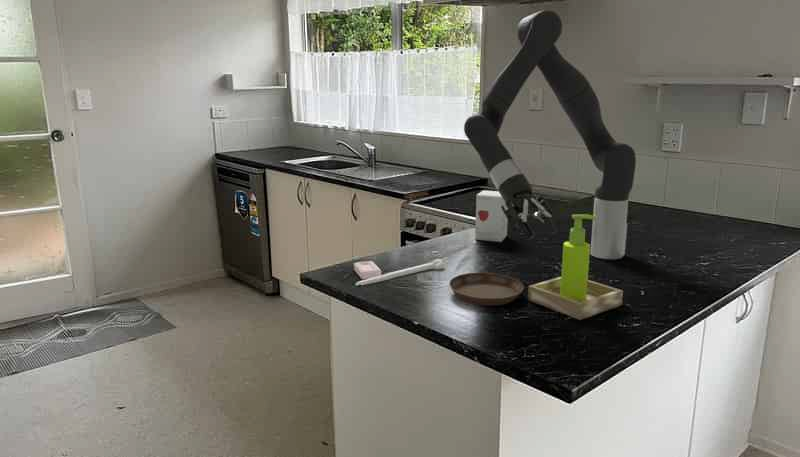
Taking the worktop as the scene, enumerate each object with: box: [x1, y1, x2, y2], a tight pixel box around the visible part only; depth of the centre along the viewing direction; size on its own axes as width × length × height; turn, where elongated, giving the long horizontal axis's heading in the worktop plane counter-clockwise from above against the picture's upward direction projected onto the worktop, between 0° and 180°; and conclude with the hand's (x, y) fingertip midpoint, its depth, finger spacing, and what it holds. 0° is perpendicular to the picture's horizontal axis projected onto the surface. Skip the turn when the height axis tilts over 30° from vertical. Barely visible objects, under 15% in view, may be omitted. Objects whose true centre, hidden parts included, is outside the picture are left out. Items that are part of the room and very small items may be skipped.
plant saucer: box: [448, 272, 524, 307], centre depth 144 cm, size 18×18×3 cm
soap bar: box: [353, 260, 382, 280], centre depth 161 cm, size 5×9×2 cm, turn 18°
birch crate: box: [527, 276, 624, 321], centre depth 139 cm, size 15×15×4 cm
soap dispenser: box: [560, 213, 597, 302], centre depth 137 cm, size 6×7×20 cm
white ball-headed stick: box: [355, 258, 445, 287], centre depth 158 cm, size 28×4×3 cm, turn 127°
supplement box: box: [474, 189, 508, 243], centre depth 195 cm, size 9×9×15 cm
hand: (543, 235), depth 144 cm, fingers open, 8 cm apart
